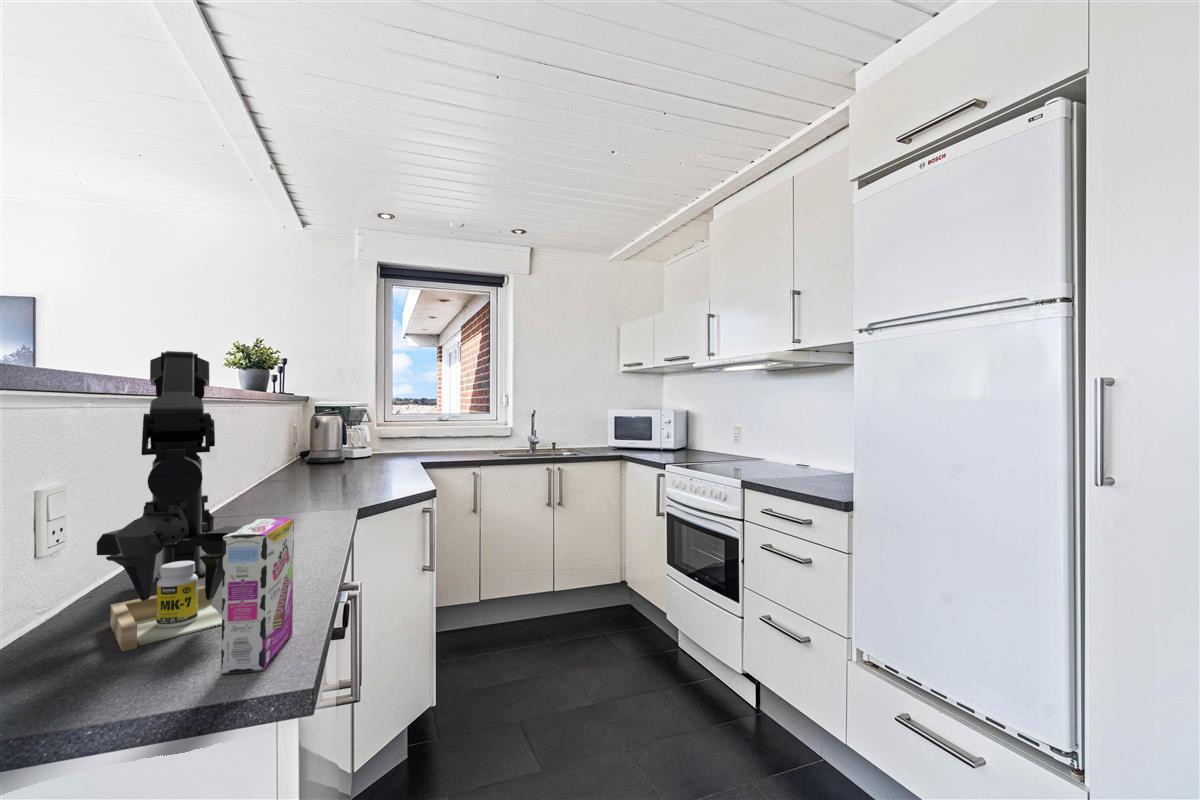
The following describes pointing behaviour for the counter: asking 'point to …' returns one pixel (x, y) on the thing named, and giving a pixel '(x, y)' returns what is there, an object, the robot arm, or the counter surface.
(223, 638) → the candy bar box
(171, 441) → the robot arm
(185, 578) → the supplement bottle
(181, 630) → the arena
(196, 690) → the counter surface
